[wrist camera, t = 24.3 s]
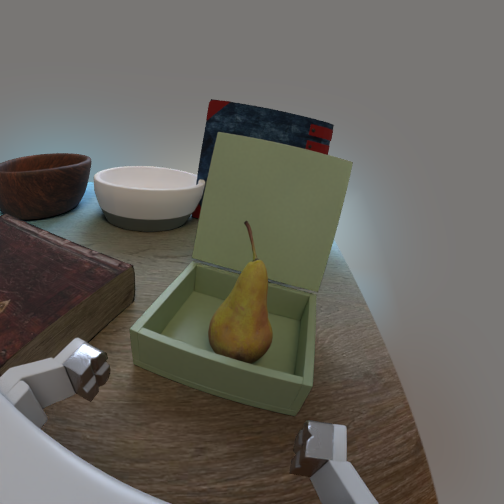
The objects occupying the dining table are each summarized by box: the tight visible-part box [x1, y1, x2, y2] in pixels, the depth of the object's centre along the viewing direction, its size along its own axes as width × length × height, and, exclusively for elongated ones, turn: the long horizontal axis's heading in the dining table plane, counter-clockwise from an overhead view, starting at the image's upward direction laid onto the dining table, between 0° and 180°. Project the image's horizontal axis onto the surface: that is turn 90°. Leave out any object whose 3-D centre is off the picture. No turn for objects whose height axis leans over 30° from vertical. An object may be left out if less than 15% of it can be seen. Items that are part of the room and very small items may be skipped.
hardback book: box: [0, 214, 135, 377], centre depth 23 cm, size 29×19×5 cm, turn 76°
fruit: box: [208, 221, 273, 364], centre depth 22 cm, size 6×6×12 cm
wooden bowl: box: [0, 153, 91, 220], centre depth 47 cm, size 25×25×10 cm
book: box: [192, 99, 333, 219], centre depth 56 cm, size 25×7×25 cm, turn 87°
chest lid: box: [192, 132, 353, 292], centre depth 32 cm, size 14×15×5 cm
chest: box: [130, 261, 316, 416], centre depth 26 cm, size 14×15×4 cm
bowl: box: [94, 166, 205, 232], centre depth 53 cm, size 22×22×8 cm
